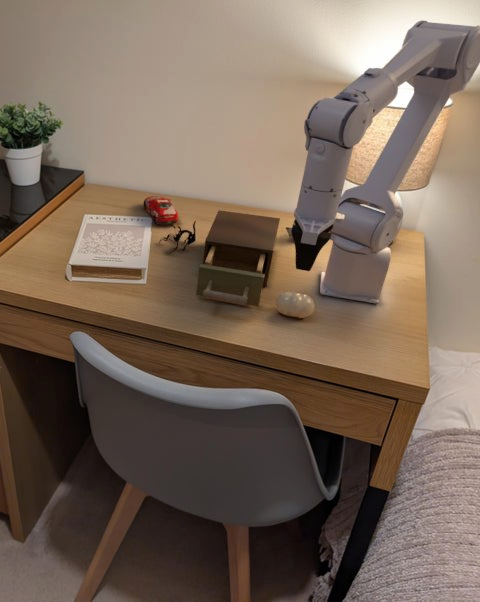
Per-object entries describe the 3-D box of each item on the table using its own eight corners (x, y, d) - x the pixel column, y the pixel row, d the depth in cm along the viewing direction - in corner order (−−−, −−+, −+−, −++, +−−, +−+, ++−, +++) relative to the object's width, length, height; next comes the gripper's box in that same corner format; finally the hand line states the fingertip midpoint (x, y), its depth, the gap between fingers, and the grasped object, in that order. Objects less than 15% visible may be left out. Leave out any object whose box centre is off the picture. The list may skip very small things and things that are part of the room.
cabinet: (266, 286, 103) (273, 250, 99) (201, 275, 106) (205, 240, 102) (273, 251, 114) (280, 218, 110) (214, 243, 118) (218, 210, 114)
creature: (158, 258, 114) (198, 254, 112) (154, 235, 112) (194, 229, 110) (161, 241, 121) (199, 236, 119) (157, 218, 118) (195, 213, 116)
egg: (312, 311, 96) (317, 291, 93) (311, 324, 92) (316, 304, 90) (275, 305, 97) (279, 285, 95) (273, 317, 94) (277, 297, 92)
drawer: (255, 322, 92) (260, 292, 89) (189, 309, 95) (193, 280, 92) (266, 269, 106) (271, 242, 103) (209, 260, 109) (212, 234, 106)
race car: (141, 205, 135) (141, 189, 133) (163, 203, 135) (164, 187, 133) (156, 228, 124) (157, 211, 122) (180, 226, 124) (181, 209, 122)
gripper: (348, 207, 76) (326, 293, 83) (354, 172, 87) (334, 250, 94) (293, 199, 78) (277, 283, 85) (306, 166, 89) (290, 243, 96)
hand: (303, 266), depth 90 cm, fingers closed
